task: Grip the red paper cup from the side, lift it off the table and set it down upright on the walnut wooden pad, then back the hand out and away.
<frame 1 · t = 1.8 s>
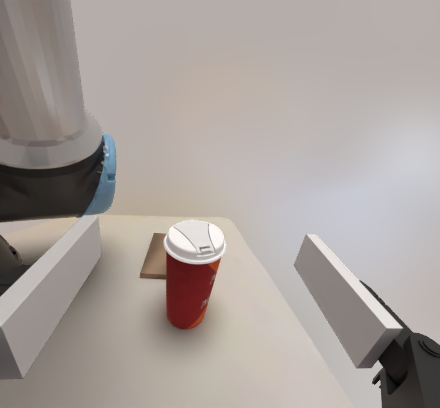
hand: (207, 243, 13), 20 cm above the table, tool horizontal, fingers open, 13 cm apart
paper cup: (185, 311, 31), on the table
walnut pad: (179, 256, 41), on the table
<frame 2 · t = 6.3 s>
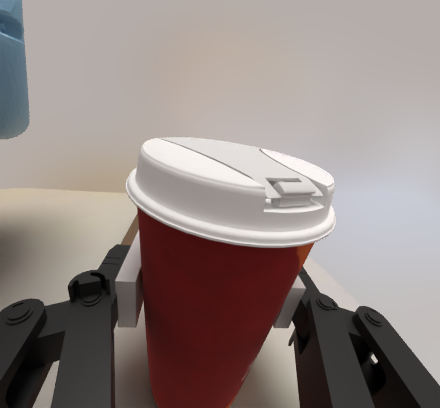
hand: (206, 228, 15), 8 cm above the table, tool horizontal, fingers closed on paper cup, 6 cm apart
paper cup: (194, 370, 14), on the table, touching gripper
when the fingers open (10 cm above the table, at t = 11.0 s): paper cup moves 4 cm, resting on walnut pad.
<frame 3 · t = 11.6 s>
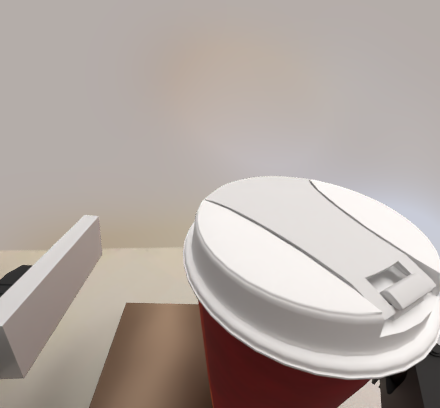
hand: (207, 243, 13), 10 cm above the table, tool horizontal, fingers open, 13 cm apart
paper cup: (253, 394, 14), point 1 cm above the table, touching gripper, walnut pad
walnut pad: (191, 388, 14), on the table
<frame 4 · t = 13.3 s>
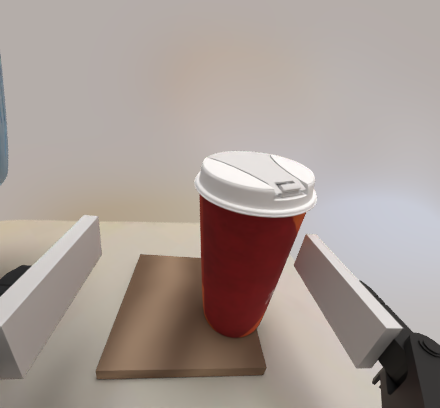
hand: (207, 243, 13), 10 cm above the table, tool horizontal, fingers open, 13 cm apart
paper cup: (231, 308, 20), point 1 cm above the table, touching walnut pad
walnut pad: (188, 305, 21), on the table
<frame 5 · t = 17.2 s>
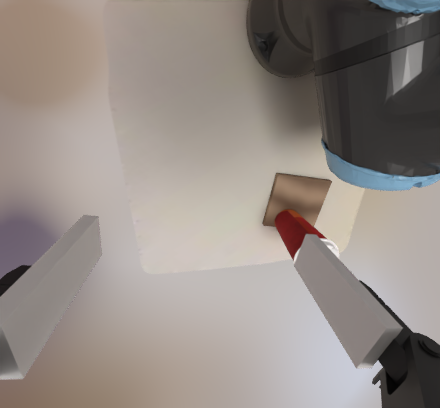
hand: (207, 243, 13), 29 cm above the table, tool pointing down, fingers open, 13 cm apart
paper cup: (286, 219, 47), point 1 cm above the table, touching walnut pad
walnut pad: (294, 202, 46), on the table
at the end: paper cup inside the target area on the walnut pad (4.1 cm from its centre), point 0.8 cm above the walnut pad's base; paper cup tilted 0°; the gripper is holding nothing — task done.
